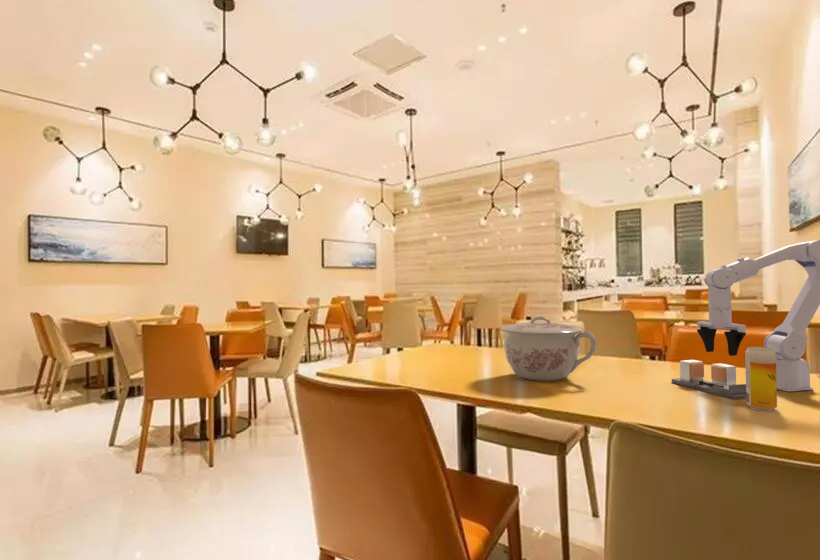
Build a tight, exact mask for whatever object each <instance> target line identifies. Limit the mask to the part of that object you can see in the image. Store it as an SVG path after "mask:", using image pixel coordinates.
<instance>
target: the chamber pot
mask: <svg viewBox="0 0 820 560" xmlns="http://www.w3.org/2000/svg"><path fill="white" fill-rule="evenodd" d="M499 330H500V331H501V332H504V333H506V338H505V340H504V344H503V346H504V354H505V357H506V358H505V359H506V361H507V362H508V365H509V366H510V368H511V369H512V371H513V373H514V374H515V375H516V376H518V377H520V378H523V379H525V380H529V381H535V382H556V381H560V380H562V379H566V378H568V377H569V376H570V375H571V373H573V372H574V371H575V370H576V369H577V368H578V367H579V366H580V365H581V364H582V363H584V362H585V361H587V360H589V359H590V358H591V357H592V356H593V355H594V353H595V352H596V351H597V346H598V345H597V339H596V337H595V336H594V334H593V333H592V332H590V331H589V330H584V328H582V327H579V326H576V325H573V324H568V323H561V322H552V321H551V320H550V319H548V317H544V316H535V317H533V318H532V319H531V320H530V321H527V322H519V323H512V324H507V325H504V326H501V327H500V328H499ZM582 338H588V339H589V341H590V349H589V351H588V353H586V355H585V356H583V357H581V358H579V354H580V346H581V339H582Z"/></svg>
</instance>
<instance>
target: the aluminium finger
mask: <svg viewBox="0 0 820 560" xmlns="http://www.w3.org/2000/svg"><path fill="white" fill-rule="evenodd" d="M736 368H737V367H736V366H735V365H733V364H732V365H730V364H728V363H727V364H726V363H712V364H711V366H710V372H711V373H710V374H711V375H710V376H711V382H714V383H718V384H723V385H727V386H729V385H733V384H737V369H736Z"/></svg>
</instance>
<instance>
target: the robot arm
mask: <svg viewBox="0 0 820 560" xmlns="http://www.w3.org/2000/svg"><path fill="white" fill-rule="evenodd" d="M736 260H737V261H733V262H732V263H730V264H723V265H720V268H719V269H718V268H717V269H711V270H710V271H708V272H707V273H706V275H705V278H703V281H704V283H705V285H706V286H707V298H708V299H707V301H708V304H707V305H708V306H707V307H708V321H703V320H702V321H696V327H697V328H698V329H696V332H697V333H698V335H699V336H700V338H701V340H702V342H703V345H704V348H705V352H706V353H712V352H714V351H715V339H716V338H715V336H716V335H717V331H718V330H720V331H721V330H723V331H724V333H723V334H724V336H725V338H726V342H727V350H728V351H727V352H728V355H729V356H730V357H731V356H737V354H738V351H739V348H740V345H741V343H742V341H743V339H744V338H745V336H746V334H747V333H746V332H747V326H746V324H739V323H733V322H732V320H733V319H732V317H733V315H732V293H731V291H732V289H731V288H732V286H733V285H734V284H735V283H736V284H737V283H739V282H741V281H744V280H747V279H749V278H752V277H755V276H757V275H758V274H759V273H760V270H761V269H764V268H767V267H770V266H772V265H775V264H779V263H782V262H785V261H787V260H788V261H795V262H796V263H797V264H798V265H799V266H801V267H802V268H803V269H804V270H805V271H806V273H807V275H808V277H807V278H806V281H805V282H804V284H803V285H802V288H801V290H800V291H799V294H798V295H797V296H796V299H795V301H794V303H793V304H792V305H791V308H790V309H789V311H788V313H787V315H786V317H784V320H783V322H782V323H781V324H779V325H778V326H776V327H775V328H774V329H773V331H772V332H771V333H770V334H768V335H767V336H766V337H765V338H764V340H763V345H764V346H763V347H767V348H773V349H774V351H775V353H776V377H777V390H778V391H779V390H780V391H784V392H789V393H790V392H799V391H809V390H810V391H811V390H812V391H813V390H814V387H811V374H810V373H811V369H810V368H811V367H810V364H809V363H808V361H806V360H805V359H804V358H801V357H802V356H803V355H804V354H805V352H806V348H807V347H806V343H807V341H808V339H809V337H808V334H807V332H806V331H807V328H808V326H809V324H810V323H811V322H812V319H813V318H814V315H815V314H816V312H817V310H818V309H819V307H820V239H816V240H811V241H800V242H797V243H795V244H790V245H786V246H783V247H780V248H779V249H776V250H773V251H771V252H769V253H766V254H763V255H761V256H759V257H757V258H754V259H753V258H749V257H739V258H737V259H736Z"/></svg>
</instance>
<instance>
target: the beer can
mask: <svg viewBox="0 0 820 560" xmlns="http://www.w3.org/2000/svg"><path fill="white" fill-rule="evenodd" d="M744 353H745V357H744V358H745V360H744V361H745V384H746V398H745V399H746V405H748V407H749V408H750V409H753V410H756V411H757V410H758V411H764V412H769V411H770V412H771V411H772V412H773V411H775V410H776V408H778V392H777V391H778V389H777V377H776V353H775V351H774V349H773V348H767V347H765V346H747V348H746V350H745V351H744Z"/></svg>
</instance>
